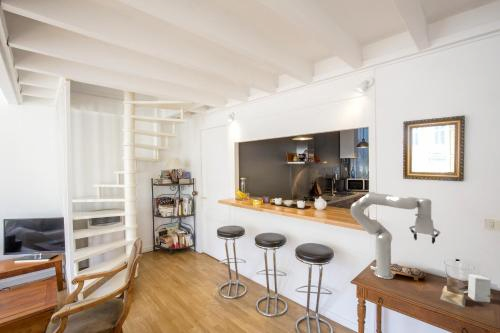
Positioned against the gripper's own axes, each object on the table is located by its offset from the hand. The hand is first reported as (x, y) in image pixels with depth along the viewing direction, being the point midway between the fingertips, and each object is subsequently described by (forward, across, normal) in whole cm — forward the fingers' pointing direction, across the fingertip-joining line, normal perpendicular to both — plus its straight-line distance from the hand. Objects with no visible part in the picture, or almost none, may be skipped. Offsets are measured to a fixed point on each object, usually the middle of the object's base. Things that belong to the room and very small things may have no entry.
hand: (424, 241), depth 160 cm
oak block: (+29, +16, -10) cm, 35 cm away
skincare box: (+31, +27, +2) cm, 41 cm away
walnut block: (+24, +16, -10) cm, 31 cm away
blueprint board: (+30, +16, -10) cm, 36 cm away
